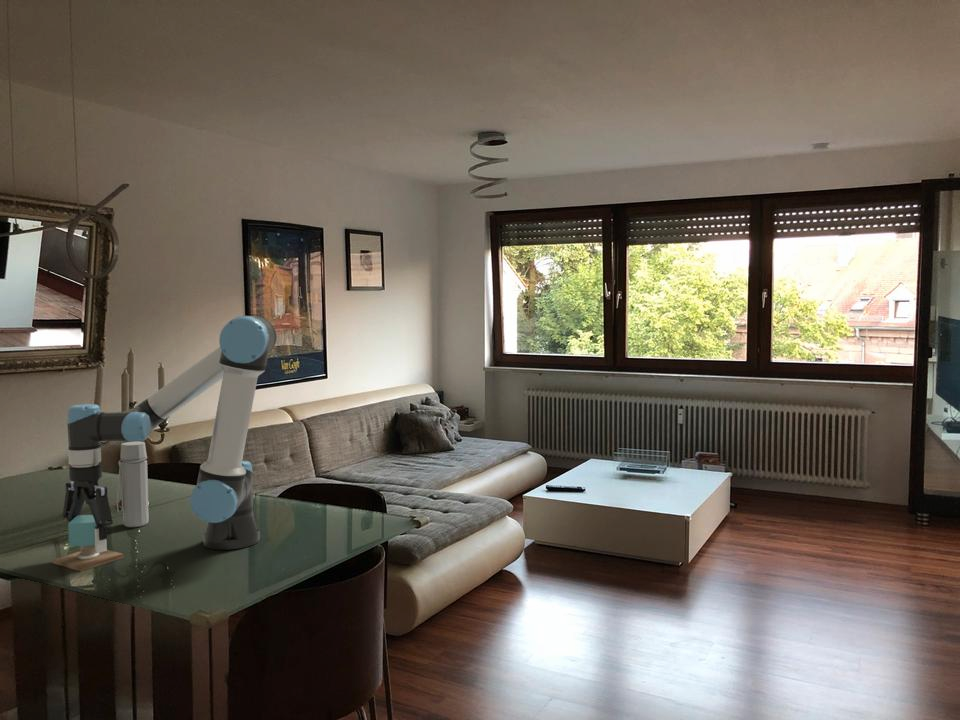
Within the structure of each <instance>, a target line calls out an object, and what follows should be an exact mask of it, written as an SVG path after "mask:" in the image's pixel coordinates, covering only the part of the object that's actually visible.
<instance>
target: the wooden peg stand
mask: <svg viewBox="0 0 960 720" xmlns="http://www.w3.org/2000/svg"><path fill="white" fill-rule="evenodd" d="M79 547H80V551H76V552H73V553H70V554H67V555H66V554H65V555H63V556H59V557H56V558H53V559H51V561H52V564H54V565H58V566H61V567H64V568H68V569H71V570H75V571H78V572H83V571H86V570H90V569H93V568H97V567H99V566H102V565H106V564H109V563H112V562H115V561H117V560H120V559H124V558H125V554H124V553H123V552H122V553H121V552H119V551H118V552H117V551H114V550H109V549H107V551H104V552H100V553H95V545H92V546H79Z"/></svg>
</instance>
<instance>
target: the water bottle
mask: <svg viewBox="0 0 960 720" xmlns="http://www.w3.org/2000/svg"><path fill="white" fill-rule="evenodd" d="M147 459H148V456H147V448H146V442H145V441H135V442H130V441H125V442H122V443H121V445H120V459H119V460H118V462H117V463H118V467H119V469H118V470H119V471H118V481H117V482H118V483H117V495H116V503H115V504H116V509H117V512H118V513H122V524H123V525H124V526H125V528H140V527H144V526H146V525H147V524H149V522H150V520H149V518H150V516H149V515H150V514H149V484H148V483H149V481H148V480H149V479H148V460H147ZM120 492H121V493H120ZM119 495H121V496H120V497H121V509H120V510H119Z"/></svg>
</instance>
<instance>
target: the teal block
mask: <svg viewBox="0 0 960 720" xmlns="http://www.w3.org/2000/svg"><path fill="white" fill-rule="evenodd" d="M100 523H101V521H100ZM67 524H68V529H67V531H68V547H70V546H73V547H80V546H92V545H95V527H96V526H97V525H96V523H95V520H94V517H93V515H92V514H82V515H77V516H76V517H75V518H74V519H73V520H72V521H71V522H68V523H67Z"/></svg>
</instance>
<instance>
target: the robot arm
mask: <svg viewBox="0 0 960 720" xmlns="http://www.w3.org/2000/svg"><path fill="white" fill-rule="evenodd" d="M277 335H278V334H277V330H276V328H275V326H274V325H273V323H272V322H271V321H270V320H269V319H267V318H266V317H263V316H261V315H240V316H236V317H234V318H232V319H231V320H229V321H228V322H227V323H226V324H225V325H224V326H223V328H222V329H221V331H220V333H219V339H218V341H219V346H218V347H217V348H216V349H214V350H213V351H211V352H210V353H209V354H207V355H206V356H204V357H202V359H200V360H199V361H198V362H196V363H194V364H193V365H192V366H191V367H189V368H188V369H186V370H185V371H184V372H182V373H181V374H179V375H178V376H177V377H175V378H174V379H172V380H171V381H169V382H168V383H167V384H165V385H164V386H163V387H161V388H159V390H157V391H156V392H154V393H153V394H151V395H150V396H149V397H147V398H146V399H144V400H143V401H141V402H140V403H139V404H137V405H136V406H135V407H131V408H130V409H127V410H124V411H121V412H119V411H118V412H117V411H116V412H104V411H101V408H100V406H99V405H98V404H95V403H94V404H93V403H83V404H74V405H71V406H69V408H67V421H66V425H67V442H68V452H67V453H68V465H70V466H69V467H68V474H69V475H68V477H69V478H68V479H69V480H70V481H68V482H66V483H65V496H64V505H63V511H62V518H63V519H66V521H67V522H68V523H69V522H71V521H72V520H73V519H74V518H75V517H76V516H77V515H80V514H81V512H82V509H83V506H84V502H85V504H86V505H89V506H88V507H89V509H90V512H91V515H93V517H94V520H95V523H96V525H97V526H96V527H95V553H100V552H104V551H107V550H108V548H107V547H108V546H107V545H108V544H107V543H108V542H107V538H108V526H112V525H113V523H114V521H113V517H112V511H111V507H110V503H109V498H108V487H107V486H103V487H102V486H100V484H99V480H100V479H102V477H103V470H102V469H103V468H102V467H103V466H102V464H101V462H102V448H101V447H102V442H135V441H140V442H144V441H145V440H147V439H148V437H149V435H150V434H151V431H154V429H156V428H157V427H158V426H159V425H160V424H161V423H162V422H164V421H165V420H166V419H168V418H169V417H171V416H172V415H173V414H175V413H176V412H178V411H179V410H180V409H181V408H183V407H184V406H186V405H188V404H189V403H190V402H192V401H193V400H194V399H196V398H197V397H199V396H201V394H203V393H204V392H206V391H207V390H209V389H210V388H212V386H214V385H215V384H217V383H218V382H221V385H220V391H219V396H218V401H217V407H216V412H215V416H214V417H215V418H214V423H213V429H212V434H211V440H210V446H209V449H208V455H207V456H208V457H207V460H206V461H205V462H203V463H202V464H200V466H199V471H198V477H197V481H196V485H195V486H194V488H193V489H192V492H191V494H190V495H189V496H190V497H189V498H190V499H189V505H190V508H191V510H192V512H193V513H194V515H195V516H196V517H197V518H198V519H200V520H202V521H203V522H207V525H206V530H205V532H204V534H203V546H204V547H205V548H208V549H211V550H219V551H221V550H222V551H223V550H224V551H225V550H228V551H229V550H237V549H242V548H248V547H250V546H253V545H255V544H257V543H258V542H259V541H260V540H261V538H260V537H261V534H260V533H261V532H260V529H259V527H258V523H257V521H256V518H255V516H254V508H253V506H254V504H253V503H254V499H253V498H254V495H253V493H254V491H253V488H254V487H253V486H254V485H253V474H254V471H253V464H252V463H251V461H248V460H243V459H244V458H243V457H244V453H245V448H246V447H245V446H246V444H247V443H246V441H247V438H248V432H249V425H250V422H251V421H250V420H251V415H252V410H253V405H254V404H253V403H254V399H255V394H256V388H257V382H258V379H259V376H261V375H262V374H263V373H265V371H266V367H267V361H268V358H269V354H270V353H271V351H272V352H273V350H274V348H275V345H276V343H277V338H278V337H277ZM100 521H101V523H100ZM69 547H70V548H72V547H74V546H69Z"/></svg>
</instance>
